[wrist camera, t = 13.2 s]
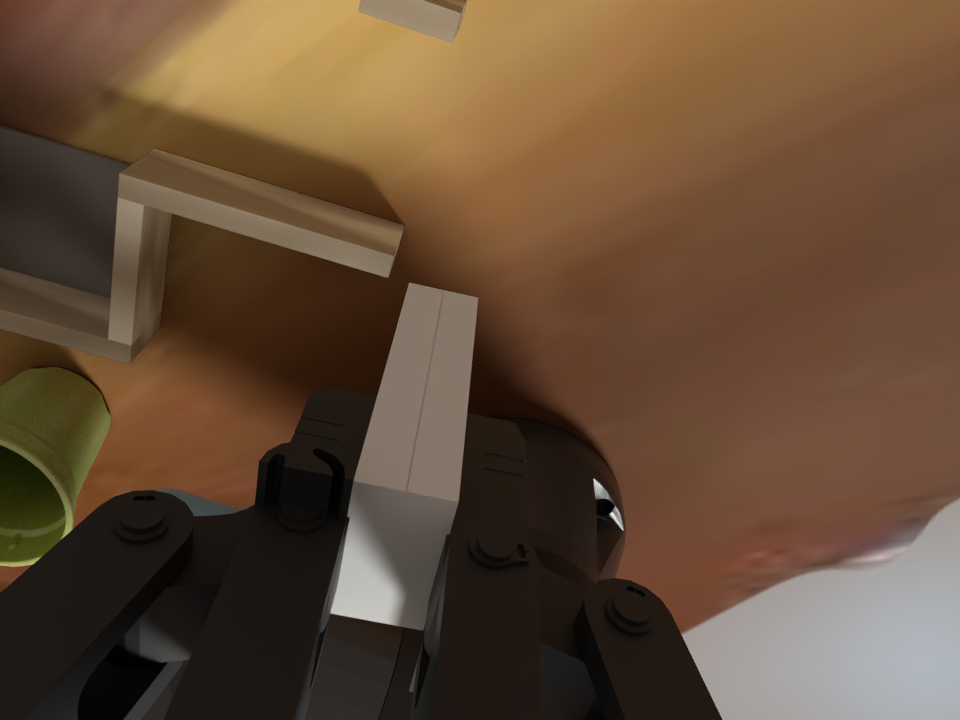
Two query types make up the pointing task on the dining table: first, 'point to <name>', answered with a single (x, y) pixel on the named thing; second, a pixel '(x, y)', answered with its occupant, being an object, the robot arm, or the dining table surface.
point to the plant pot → (45, 457)
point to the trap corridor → (156, 224)
